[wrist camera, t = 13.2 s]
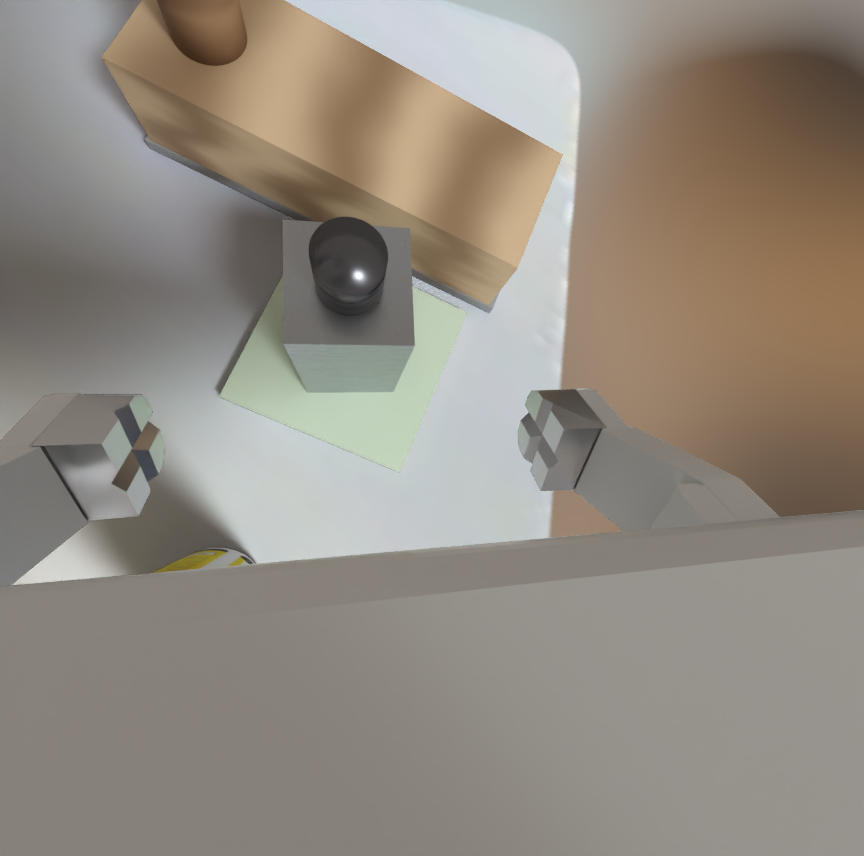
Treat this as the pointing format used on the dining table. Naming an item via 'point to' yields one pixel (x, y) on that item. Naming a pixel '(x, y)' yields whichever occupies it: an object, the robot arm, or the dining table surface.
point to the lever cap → (347, 304)
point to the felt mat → (350, 411)
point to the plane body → (334, 133)
